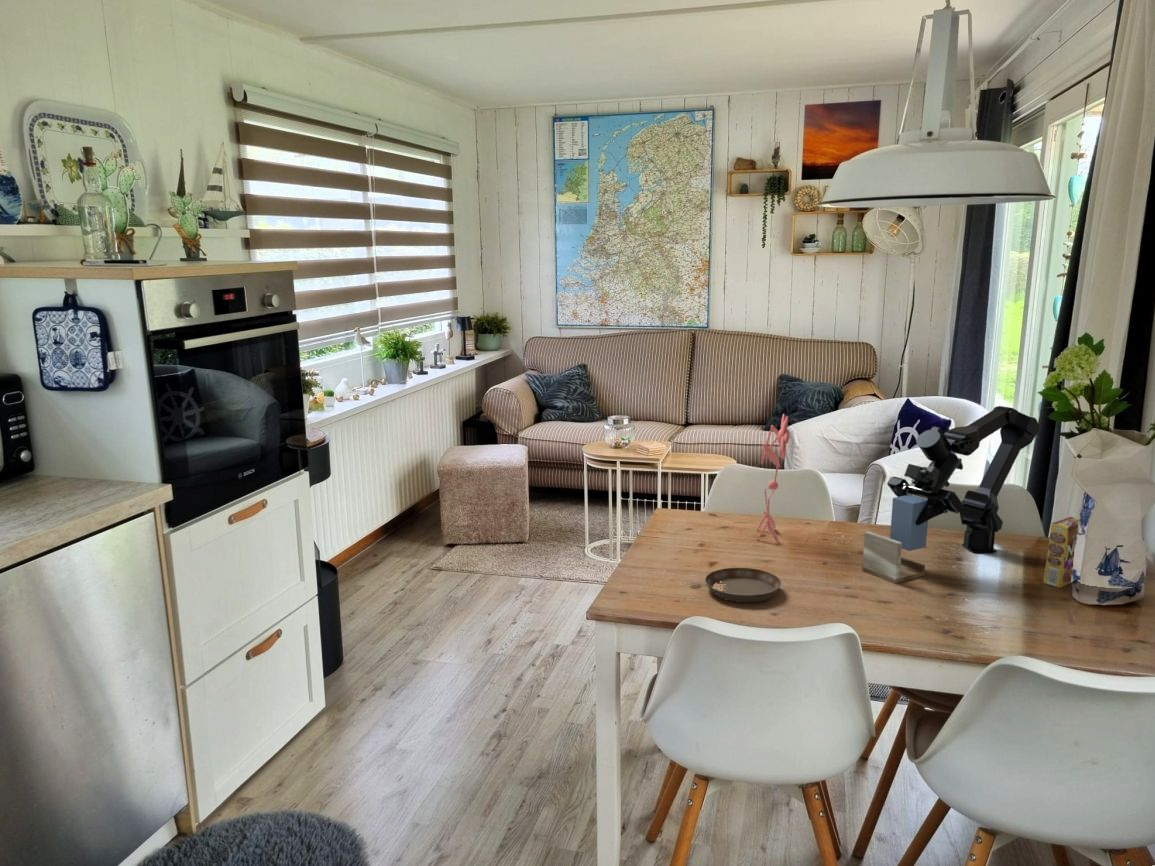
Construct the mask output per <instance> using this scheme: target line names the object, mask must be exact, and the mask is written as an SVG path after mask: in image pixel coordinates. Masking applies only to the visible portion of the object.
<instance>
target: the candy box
mask: <svg viewBox="0 0 1155 866" xmlns="http://www.w3.org/2000/svg"><path fill="white" fill-rule="evenodd" d="M1079 519H1080V518H1078V517H1073V516H1069V517H1066V518H1064V519H1063V518H1062V519H1061V520H1058V521H1055V522H1051V523H1050V532H1049V539H1048V540H1049V541H1048V546H1047V555H1046V562H1045V569H1044V575H1043V584H1045V585H1049V586H1052V587H1054V588H1058V589H1060V588H1063V587H1066V586H1068V585H1070V584H1071V583H1070V581H1071V574H1072V567H1073V558H1074V548H1075V540H1076V535H1077V529H1078V521H1079Z"/></svg>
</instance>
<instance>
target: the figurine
mask: <svg viewBox="0 0 1155 866" xmlns="http://www.w3.org/2000/svg"><path fill="white" fill-rule="evenodd" d="M780 421H781V422H780V429H779V430H778V429H777V428H776V427H775V425H773V424H771V425H770V430H769V433H768V436H767V439H766V442H765V443H763V444H762V445H761V447H762V448H761V449H762V450H761V460H760V464H761V465H764V461H765V457H766V458H767V459H768V460H769V461H770V462H771V463H772V464H774V465H775V475H774V480H770V482H769V483H768V487H767V488H765V489H764V498H765V505H766V506H765V507H766V510H764V511H763V514H764V517H763V518H762V519H761V521H760V523H759V524H758V525H757V528H756V529H755V530H756V531H759V530H760V528H761V526H762V524H763V523H764V522H765V525H764V526H763V528H762V530H761V531H760V533H759V534H758V536H757V538H756V541H757V542H758V541H759V540H760V538H761V537H762V536H763V533H764V531H765V530H766V528H767V530H768V531H769V533H770V534H771V536H772V537H773V539H775V540H776V542H777V543H778V544H780V540H779V537H778V535H777V533H776V531H775V529H776V523H775V521H774V519H773V517H772V515H770V499H771V497H772V495H773V494H774V492H775V491H776V490H777V489H778V488H779V483H778V482H777V476H778V471H779V469H781V464H780V463H781V462H780V459H779V458H782V460H785V458H786V453H787V452H786V451H787V444H788V443H789V441H790V437H791V436H790V430H789V429H788V426H789V425H788V424H789V423H788V422H789V416H788V415H785V413H783V414H782V417H781V420H780ZM772 432H773V433H774V434H775V436H776V437H775V438H774V439H773V441H772V443H771V444H770V445H769V446H768V444H769V441H770V438H771V435H772ZM776 442H777V443H778V444H779V448H778V456H779V458H778V456H777V454H776V452H775V451H774V450H773V449H772V447H773V446H774V444H775V443H776ZM767 490H771V493H770V495H769V496H768V499H767ZM789 528H794V529H796V530H798V531H800V532H802V533H803V534H805V532H804V530H803V529H798V528H796V527H793V526H790V525H789ZM807 541H808V539H807V540H806V541H804V543H806V542H807ZM753 547H756V545H753ZM757 547H759V548H760V547H761V546H760V545H757Z"/></svg>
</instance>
